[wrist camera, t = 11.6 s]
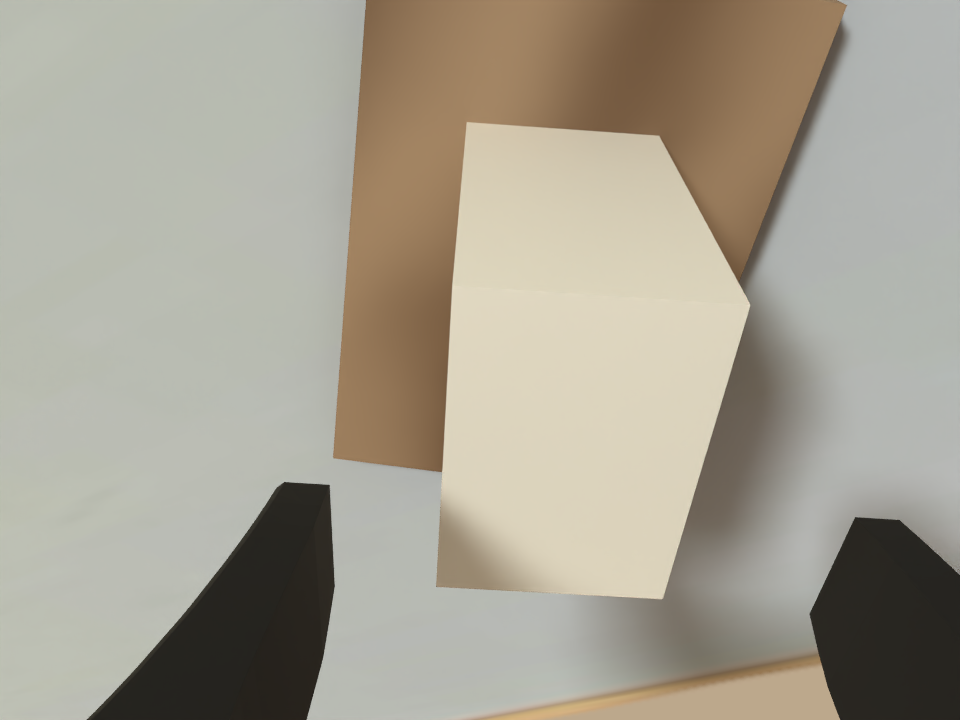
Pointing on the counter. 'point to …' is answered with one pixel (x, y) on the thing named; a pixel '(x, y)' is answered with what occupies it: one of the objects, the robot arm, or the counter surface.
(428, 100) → the walnut board
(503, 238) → the plug
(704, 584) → the counter surface
